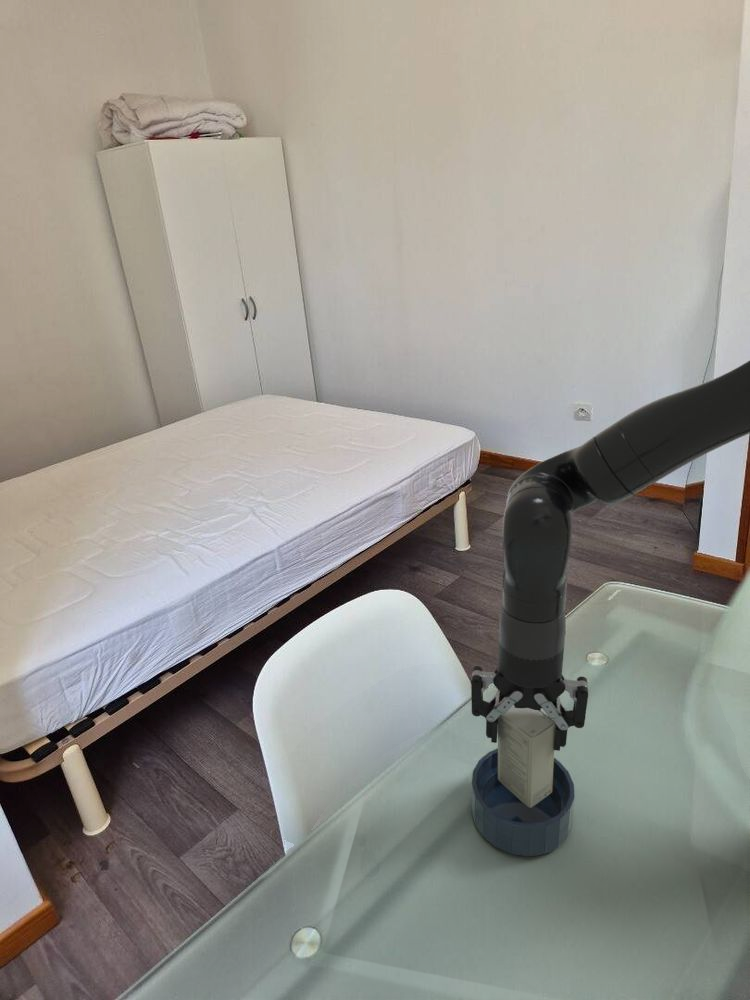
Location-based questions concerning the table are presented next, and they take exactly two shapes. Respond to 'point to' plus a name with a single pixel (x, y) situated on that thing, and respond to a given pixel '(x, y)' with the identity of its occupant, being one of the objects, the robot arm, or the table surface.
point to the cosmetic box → (526, 753)
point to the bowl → (521, 811)
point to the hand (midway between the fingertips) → (525, 741)
